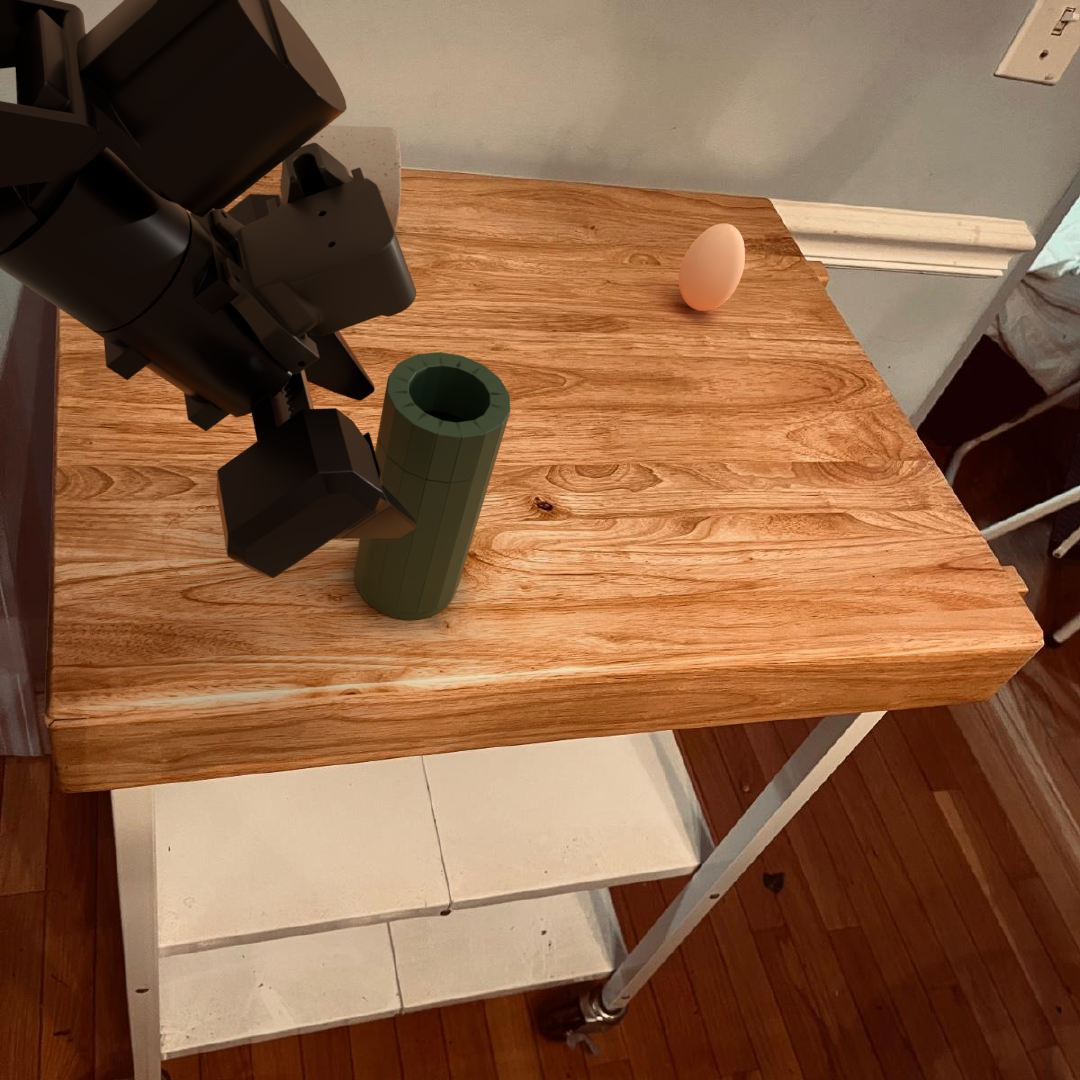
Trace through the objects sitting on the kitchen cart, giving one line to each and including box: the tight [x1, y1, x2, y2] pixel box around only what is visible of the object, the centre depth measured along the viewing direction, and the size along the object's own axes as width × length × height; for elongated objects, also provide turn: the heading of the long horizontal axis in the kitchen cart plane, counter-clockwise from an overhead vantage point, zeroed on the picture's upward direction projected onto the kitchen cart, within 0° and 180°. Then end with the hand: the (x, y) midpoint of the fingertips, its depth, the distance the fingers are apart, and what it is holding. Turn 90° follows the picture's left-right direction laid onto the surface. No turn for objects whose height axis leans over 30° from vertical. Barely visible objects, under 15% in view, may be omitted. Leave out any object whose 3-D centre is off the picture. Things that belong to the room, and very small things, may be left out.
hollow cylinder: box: [353, 351, 511, 621], centre depth 55 cm, size 6×6×14 cm
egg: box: [678, 223, 746, 312], centre depth 82 cm, size 5×5×7 cm
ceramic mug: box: [281, 124, 402, 233], centre depth 77 cm, size 11×8×8 cm
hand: (386, 458), depth 52 cm, fingers open, 9 cm apart
